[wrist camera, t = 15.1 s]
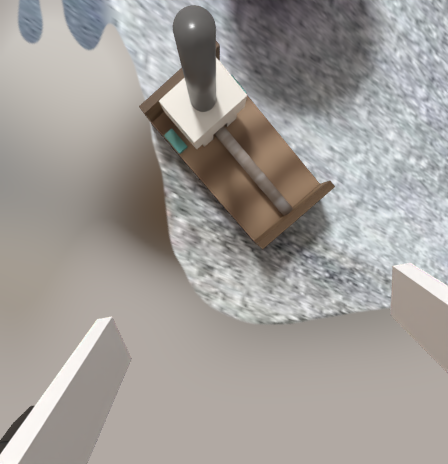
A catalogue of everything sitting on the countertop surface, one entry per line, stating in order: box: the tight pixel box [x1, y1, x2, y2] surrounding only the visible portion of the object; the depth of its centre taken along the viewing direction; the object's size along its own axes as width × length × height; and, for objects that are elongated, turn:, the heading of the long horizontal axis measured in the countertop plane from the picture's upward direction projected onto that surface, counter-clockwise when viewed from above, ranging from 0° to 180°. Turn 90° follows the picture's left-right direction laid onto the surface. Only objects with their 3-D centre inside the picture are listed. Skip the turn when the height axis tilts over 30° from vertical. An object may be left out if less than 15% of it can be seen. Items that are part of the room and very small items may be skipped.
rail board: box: [139, 41, 335, 249], centre depth 31 cm, size 23×12×5 cm, turn 41°
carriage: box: [159, 5, 247, 149], centre depth 24 cm, size 6×8×15 cm
